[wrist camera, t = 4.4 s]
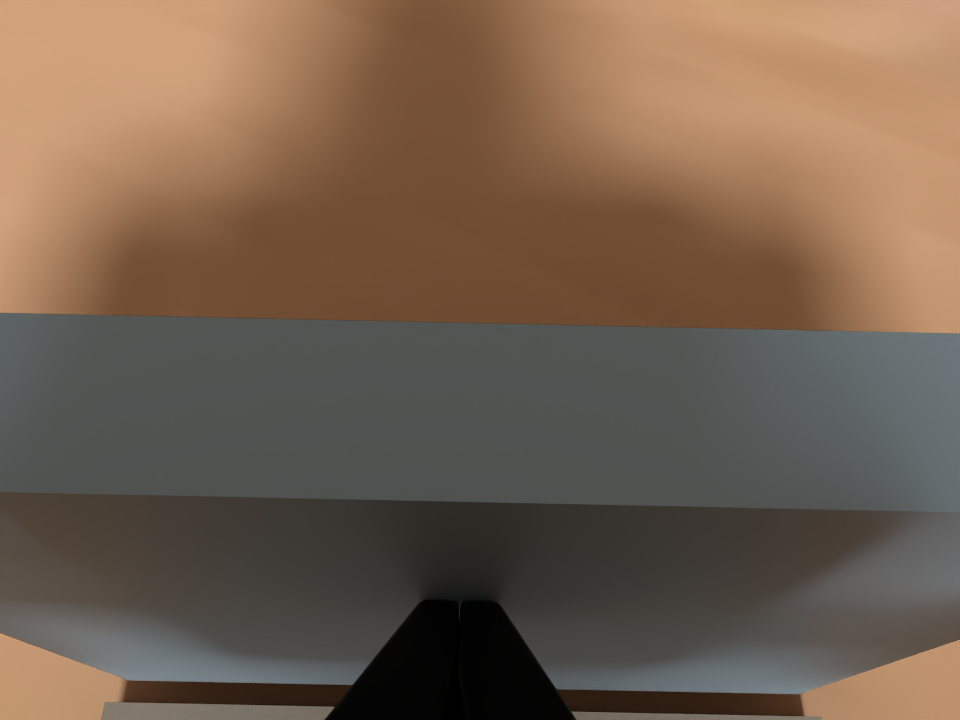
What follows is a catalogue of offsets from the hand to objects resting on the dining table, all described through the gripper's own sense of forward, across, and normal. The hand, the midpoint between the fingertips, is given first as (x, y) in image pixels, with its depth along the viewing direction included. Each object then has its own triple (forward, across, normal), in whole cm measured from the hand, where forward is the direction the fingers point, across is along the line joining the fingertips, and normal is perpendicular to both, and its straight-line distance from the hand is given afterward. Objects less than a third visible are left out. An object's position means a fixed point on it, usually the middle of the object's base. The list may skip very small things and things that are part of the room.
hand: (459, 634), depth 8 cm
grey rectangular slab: (+5, 0, +4) cm, 6 cm away
